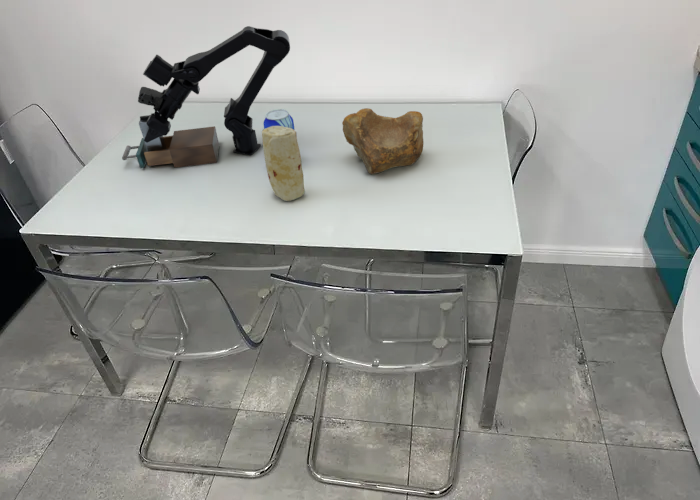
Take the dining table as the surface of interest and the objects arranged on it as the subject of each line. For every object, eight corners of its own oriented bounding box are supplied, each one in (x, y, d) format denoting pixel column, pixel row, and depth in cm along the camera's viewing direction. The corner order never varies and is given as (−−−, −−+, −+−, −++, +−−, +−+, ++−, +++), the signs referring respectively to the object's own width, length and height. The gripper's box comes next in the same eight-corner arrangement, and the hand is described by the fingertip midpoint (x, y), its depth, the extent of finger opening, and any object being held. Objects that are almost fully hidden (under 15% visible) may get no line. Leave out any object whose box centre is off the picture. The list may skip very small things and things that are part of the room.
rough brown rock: (340, 182, 158) (337, 136, 148) (345, 149, 170) (342, 104, 160) (423, 183, 156) (426, 136, 146) (422, 149, 168) (425, 104, 158)
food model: (308, 190, 154) (299, 122, 142) (302, 203, 149) (292, 135, 137) (274, 188, 156) (263, 121, 144) (267, 201, 151) (254, 133, 139)
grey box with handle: (168, 149, 175) (157, 111, 167) (166, 158, 171) (154, 118, 163) (151, 151, 175) (139, 113, 167) (148, 160, 171) (135, 121, 163)
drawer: (123, 170, 169) (118, 156, 166) (130, 153, 177) (125, 139, 175) (179, 163, 170) (175, 150, 167) (183, 146, 178) (180, 133, 175)
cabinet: (174, 167, 170) (169, 149, 166) (179, 148, 179) (174, 130, 175) (216, 162, 170) (212, 144, 166) (219, 144, 180) (215, 126, 176)
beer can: (305, 162, 166) (298, 112, 157) (283, 174, 162) (275, 123, 152) (286, 154, 171) (278, 105, 161) (265, 166, 167) (255, 115, 157)
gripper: (154, 66, 166) (128, 106, 172) (144, 91, 151) (116, 133, 157) (188, 89, 171) (161, 126, 177) (181, 115, 157) (152, 155, 163)
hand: (147, 134), depth 169 cm, fingers open, 9 cm apart
